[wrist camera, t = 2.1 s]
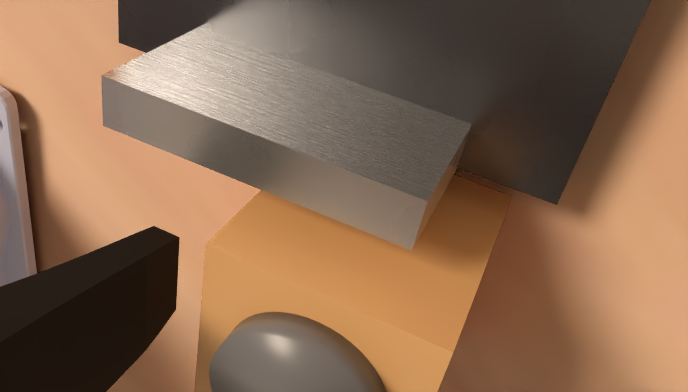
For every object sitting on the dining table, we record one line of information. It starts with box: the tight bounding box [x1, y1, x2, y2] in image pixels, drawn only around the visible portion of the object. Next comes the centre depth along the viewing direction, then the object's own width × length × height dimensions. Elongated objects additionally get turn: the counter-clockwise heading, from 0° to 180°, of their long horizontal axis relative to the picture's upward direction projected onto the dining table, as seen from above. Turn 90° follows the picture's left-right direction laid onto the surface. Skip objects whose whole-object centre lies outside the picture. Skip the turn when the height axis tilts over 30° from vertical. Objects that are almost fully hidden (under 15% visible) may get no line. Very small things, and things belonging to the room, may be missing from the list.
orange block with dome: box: [195, 175, 512, 392], centre depth 14 cm, size 4×4×6 cm
